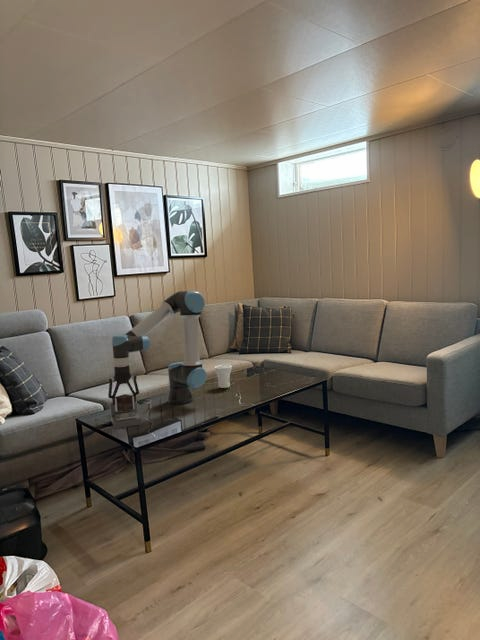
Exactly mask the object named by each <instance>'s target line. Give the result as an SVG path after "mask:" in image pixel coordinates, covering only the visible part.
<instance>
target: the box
mask: <svg viewBox="0 0 480 640" xmlns="http://www.w3.org/2000/svg"><path fill="white" fill-rule="evenodd" d="M132 395H133V394H132ZM132 395H130V394H128V393H127V394H126V393H124V394H121V395H116V396H115V398H116V399H117V411H122V412H126V411H129V410H132V409H133V401H132Z"/></svg>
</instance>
